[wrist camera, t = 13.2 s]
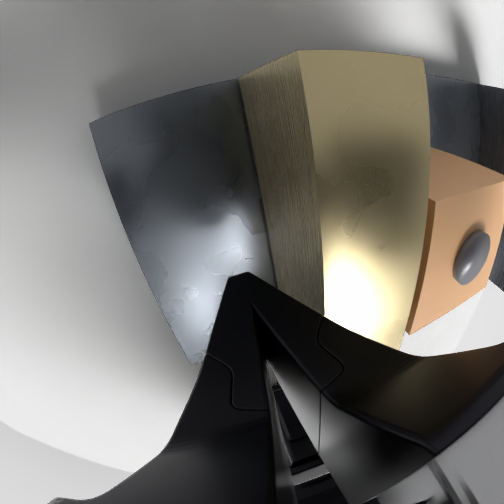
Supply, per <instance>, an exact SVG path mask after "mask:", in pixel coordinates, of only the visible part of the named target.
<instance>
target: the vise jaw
mask: <svg viewBox="0 0 504 504" xmlns="http://www.w3.org/2000/svg"><path fill="white" fill-rule="evenodd" d="M238 79H239V84H240V89H241V94H242V99H243V104H244V108H245V113H246V118H247V123H248V128H249V133H250V138H251V143H252V149H253V154H254V159H255V164H256V169H257V175H258V180H259V185H260V190H261V196H262V201H263V207H264V212H265V218H266V223H267V229H268V234H269V240H270V245H271V251H272V257H273V263H274V268H275V274H276V280H277V286H278V289H279V290H281V291H282V292H284V293H286V294H288V295H289V296H291V297H293V298H294V299H296V300H298V301H299V302H301V303H303V304H305V305H306V306H308V307H310V308H311V309H313V310H315V311H316V312H318V313H320V314H322V316H325V317H327V318H329V319H330V320H332V321H334V322H336V323H338V324H340V325H341V326H343V327H345V328H347V329H349V330H351V331H354V332H356V333H358V334H360V335H362V336H365V337H367V338H369V339H372V340H374V341H377V342H379V343H382V344H384V345H386V346H389V347H391V348H394V349H396V350H399V348H400V345H401V342H402V339H403V335H404V332H405V328H406V324H407V321H408V317H409V313H410V309H411V305H412V301H413V296H414V292H415V287H416V283H417V278H418V272H419V267H420V261H421V255H422V249H423V242H424V235H425V227H426V219H427V209H428V197H429V180H430V119H429V103H428V91H427V82H426V74H425V66H424V60H423V58H418V57H412V56H405V55H398V54H390V53H381V52H369V51H353V50H299V51H295V52H292V53H290V54H288V55H285V56H283V57H281V58H278V59H276V60H274V61H272V62H270V63H268V64H265V65H263V66H261V67H259V68H257V69H255V70H253V71H251V72H249V73H247V74H245V75H243V76H241V77H239V78H238Z"/></svg>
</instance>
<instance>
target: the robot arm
mask: <svg viewBox="0 0 504 504" xmlns="http://www.w3.org/2000/svg"><path fill="white" fill-rule="evenodd" d="M205 354H206V355H205V356H204V359H203V362H202V366H201V369H200V372H199V375H198V378H197V381H196V383H195V386H194V388H193V390H192V393H191V395H190V397H189V400H188V402H187V404H186V406H185V408H184V411H183V413H182V415H181V417H180V419H179V422H178V424H177V426H176V428H175V430H174V433H173V435H172V437H171V439H170V440H169V442H168V444H167V445H166V447H165V448H164V449H163V450H162V451H161V453H160V454H159V455H157V456H156V457H155V458H154V459H152V460H151V461H150V462H148V463H147V464H146V465H144V466H143V467H142V468H140V469H139V470H138V471H136V472H135V473H134V474H132V475H131V476H130V477H128V478H127V479H125V480H124V481H122V482H121V483H120V484H118V485H117V486H115V487H114V488H113V489H111V490H109V491H108V492H106V493H104V494H102V495H100V496H98V497H95V498H93V499H87V500H74V499H67V498H55V499H53V500H52V501H51V502H49V503H48V504H504V342H503V343H501V344H498V345H495V346H491V347H486V348H481V349H475V350H470V351H464V352H458V353H451V354H444V355H437V356H428V357H422V356H415V355H410V354H407V353H404V352H401V351H399V350H396V349H394V348H391V347H389V346H386V345H384V344H382V343H379V342H377V341H374V340H372V339H369V338H367V337H365V336H362V335H360V334H358V333H356V332H354V331H351V330H349V329H347V328H345V327H343V326H341V325H340V324H338V323H336V322H334V321H332V320H330V319H329V318H327V317H325V316H322V314H320V313H318V312H316V311H315V310H313V309H311V308H310V307H308V306H306V305H305V304H303V303H301V302H299V301H298V300H296V299H294V298H293V297H291V296H289V295H288V294H286V293H284V292H282V291H281V290H279V289H277V288H276V287H274V286H272V285H271V284H269V283H267V282H266V281H264V280H262V279H261V278H259V277H257V276H256V275H254V274H252V273H251V272H244V273H241V274H238V275H234V276H231V277H229V278H228V279H227V282H226V285H225V289H224V292H223V295H222V299H221V302H220V305H219V309H218V312H217V315H216V319H215V322H214V325H213V329H212V332H211V335H210V339H209V342H208V346H207V349H206V352H205ZM266 360H267V361H266ZM267 362H268V364H269V365H270V367H271V369H272V371H273V373H274V375H275V377H276V379H277V380H278V382H279V384H280V386H277V387H274V388H272V384H271V379H270V375H269V370H268V365H267ZM328 472H329V473H328ZM326 473H327V474H326ZM323 474H324V475H323ZM321 475H322V476H321ZM318 476H319V477H318ZM316 477H317V478H316ZM313 478H314V479H313ZM310 479H311V480H310ZM308 480H309V481H308ZM305 481H306V482H305ZM302 482H303V483H302ZM299 483H300V484H299ZM296 484H297V485H296Z"/></svg>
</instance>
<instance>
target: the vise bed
mask: <svg viewBox="0 0 504 504" xmlns="http://www.w3.org/2000/svg"><path fill="white" fill-rule="evenodd" d="M426 82H427V91H428V103H429V119H430V147H432V148H435V149H438V150H441V151H444V152H447V153H450V154H453V155H456V156H458V157H461V158H464V159H467V160H469V161H472V162H474V163H477V164H479V165H482V166H484V167H486V168H489V169H491V170H493V171H496V172H498V173H500V174H502V175H504V89H502V88H497V87H491V86H486V85H480V84H475V83H471V82H466V81H462V80H457V79H451V78H446V77H440V76H434V75H427V74H426ZM89 125H90V128H91V132H92V135H93V139H94V142H95V146H96V149H97V152H98V156H99V159H100V162H101V165H102V168H103V171H104V174H105V177H106V180H107V183H108V186H109V189H110V192H111V195H112V197H113V200H114V203H115V205H116V208H117V211H118V213H119V216H120V219H121V221H122V224H123V226H124V229H125V231H126V234H127V236H128V238H129V241H130V243H131V246H132V248H133V250H134V253H135V255H136V257H137V260H138V262H139V264H140V266H141V268H142V271H143V273H144V275H145V277H146V279H147V281H148V284H149V286H150V288H151V290H152V292H153V294H154V296H155V298H156V300H157V302H158V304H159V306H160V308H161V310H162V312H163V314H164V316H165V318H166V320H167V322H168V324H169V326H170V327H171V329H172V331H173V333H174V335H175V337H176V339H177V340H178V342H179V344H180V346H181V348H182V349H183V351H184V353H185V355H186V356H187V358H188V360H189V362H190V363H191V365H192V364H196V363H200V362H203V359H204V356H205V355H206V354H205V352H206V349H207V346H208V342H209V339H210V335H211V332H212V329H213V325H214V322H215V319H216V315H217V312H218V309H219V305H220V302H221V299H222V295H223V292H224V289H225V285H226V282H227V279H228V278H229V277H231V276H234V275H238V274H241V273H244V272H251V273H252V274H254V275H256V276H257V277H259V278H261V279H262V280H264V281H266V282H267V283H269V284H271V285H272V286H274V287H276V288H277V289H278V286H277V280H276V274H275V268H274V263H273V257H272V251H271V245H270V240H269V234H268V229H267V223H266V218H265V212H264V207H263V201H262V196H261V190H260V185H259V180H258V175H257V169H256V164H255V159H254V154H253V149H252V143H251V138H250V133H249V128H248V123H247V118H246V113H245V108H244V104H243V99H242V94H241V89H240V84H239V79H234V80H229V81H224V82H219V83H214V84H209V85H205V86H200V87H196V88H192V89H188V90H184V91H180V92H177V93H173V94H169V95H166V96H163V97H159V98H156V99H153V100H150V101H146V102H143V103H140V104H137V105H135V106H132V107H129V108H126V109H123V110H121V111H118V112H115V113H113V114H110V115H108V116H105V117H103V118H100V119H98V120H95V121H93V122H91V123H89ZM489 280H491V281H492V282H493V283H494V284H495V285H497V286H498V287H499V288H500V289H501V290H502V291H504V225H503V229H502V234H501V238H500V242H499V246H498V249H497V253H496V256H495V260H494V263H493V266H492V270H491V273H490V276H489Z"/></svg>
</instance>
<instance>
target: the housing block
mask: <svg viewBox="0 0 504 504" xmlns="http://www.w3.org/2000/svg"><path fill="white" fill-rule="evenodd" d="M503 225H504V175H502V174H500V173H498V172H496V171H493V170H491V169H489V168H486V167H484V166H482V165H479V164H477V163H474V162H472V161H469V160H467V159H464V158H461V157H458V156H456V155H453V154H450V153H447V152H444V151H441V150H438V149H435V148H432V147H430V180H429V197H428V209H427V219H426V227H425V235H424V242H423V249H422V255H421V261H420V267H419V272H418V278H417V283H416V287H415V292H414V296H413V301H412V305H411V309H410V313H409V317H408V321H407V324H406V328H405V331H406V332H407V333H408V334H409V335H410V334H412V333H414V332H416V331H418V330H419V329H421V328H423V327H425V326H426V325H428V324H430V323H431V322H433V321H435V320H436V319H438V318H440V317H441V316H443V315H445V314H446V313H448V312H449V311H451V310H452V309H454V308H456V307H457V306H459V305H460V304H462V303H463V302H465V301H466V300H468V299H469V298H470V297H472V296H473V295H475V294H476V293H478V292H479V291H480V290H482V289H483V288H485V287H486V284H487V282H488V279H489V276H490V273H491V270H492V266H493V263H494V260H495V256H496V253H497V249H498V246H499V242H500V238H501V234H502V229H503Z"/></svg>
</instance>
